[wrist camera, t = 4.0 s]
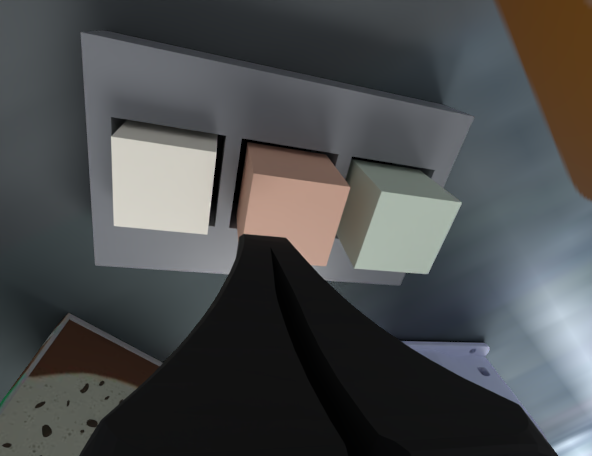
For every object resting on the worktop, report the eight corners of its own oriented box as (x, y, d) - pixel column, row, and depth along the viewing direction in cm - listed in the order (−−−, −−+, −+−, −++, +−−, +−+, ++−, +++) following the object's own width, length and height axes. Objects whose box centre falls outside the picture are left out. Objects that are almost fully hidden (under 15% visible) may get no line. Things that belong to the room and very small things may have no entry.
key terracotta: (326, 154, 15) (350, 186, 12) (308, 222, 17) (326, 266, 14) (247, 142, 14) (253, 173, 11) (236, 215, 16) (239, 259, 13)
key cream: (218, 126, 15) (216, 152, 12) (210, 197, 17) (207, 234, 14) (134, 112, 15) (111, 136, 12) (134, 188, 16) (113, 226, 13)
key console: (443, 104, 17) (474, 116, 15) (382, 258, 21) (400, 285, 19) (103, 30, 13) (80, 32, 11) (110, 235, 17) (95, 265, 15)
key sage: (419, 169, 16) (462, 202, 13) (394, 232, 18) (428, 274, 15) (351, 158, 16) (381, 191, 13) (331, 225, 17) (354, 268, 14)
